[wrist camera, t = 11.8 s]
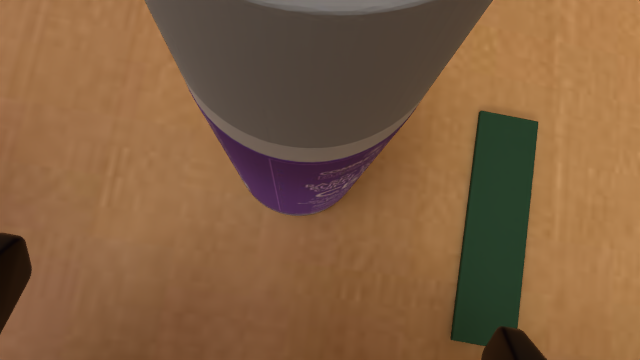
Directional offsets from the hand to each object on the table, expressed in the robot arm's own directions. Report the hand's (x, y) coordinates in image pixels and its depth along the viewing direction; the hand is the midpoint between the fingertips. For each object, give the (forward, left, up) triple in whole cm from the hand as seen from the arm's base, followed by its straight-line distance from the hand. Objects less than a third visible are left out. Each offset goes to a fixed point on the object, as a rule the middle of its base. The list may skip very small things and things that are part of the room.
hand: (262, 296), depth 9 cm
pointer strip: (-6, -6, -9) cm, 12 cm away
